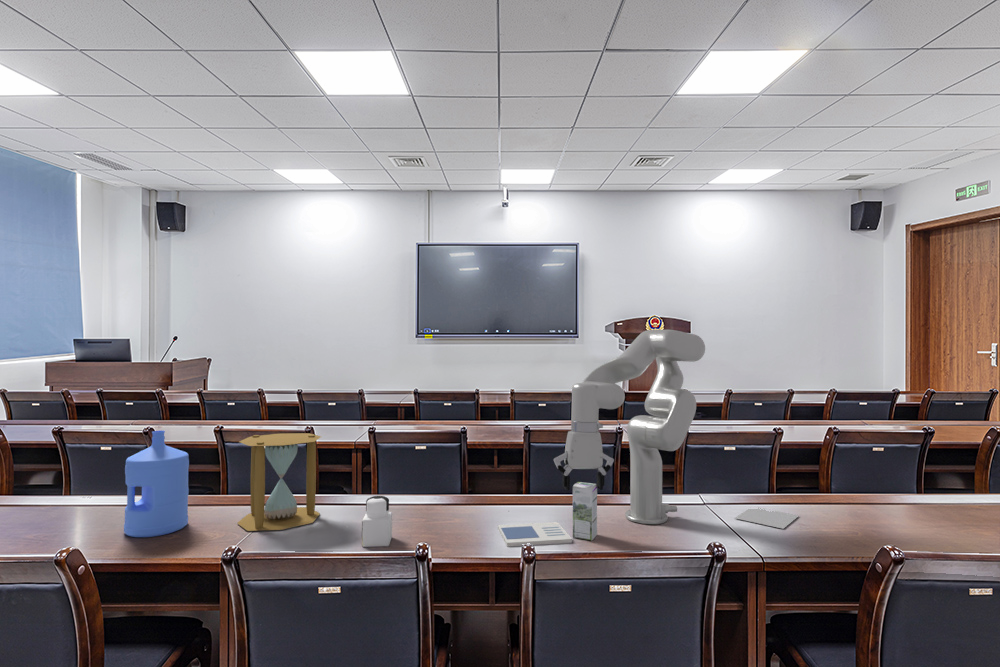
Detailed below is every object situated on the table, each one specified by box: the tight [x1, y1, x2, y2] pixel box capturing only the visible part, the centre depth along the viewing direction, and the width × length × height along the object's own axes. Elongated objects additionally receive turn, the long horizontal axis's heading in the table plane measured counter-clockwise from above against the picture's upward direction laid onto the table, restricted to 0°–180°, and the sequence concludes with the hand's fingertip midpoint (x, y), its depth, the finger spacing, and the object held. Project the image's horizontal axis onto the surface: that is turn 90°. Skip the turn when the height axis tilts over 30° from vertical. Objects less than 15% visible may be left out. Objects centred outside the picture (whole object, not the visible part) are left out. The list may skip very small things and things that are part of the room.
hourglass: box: [237, 432, 322, 532], centre depth 165 cm, size 24×22×25 cm
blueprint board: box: [497, 521, 573, 548], centre depth 152 cm, size 18×14×1 cm
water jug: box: [123, 430, 190, 538], centre depth 156 cm, size 16×16×28 cm
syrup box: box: [572, 481, 598, 541], centre depth 151 cm, size 6×6×14 cm
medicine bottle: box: [361, 495, 393, 548], centre depth 146 cm, size 7×7×12 cm
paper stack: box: [734, 507, 799, 529], centre depth 162 cm, size 23×25×1 cm
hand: (583, 488), depth 151 cm, fingers open, 9 cm apart
